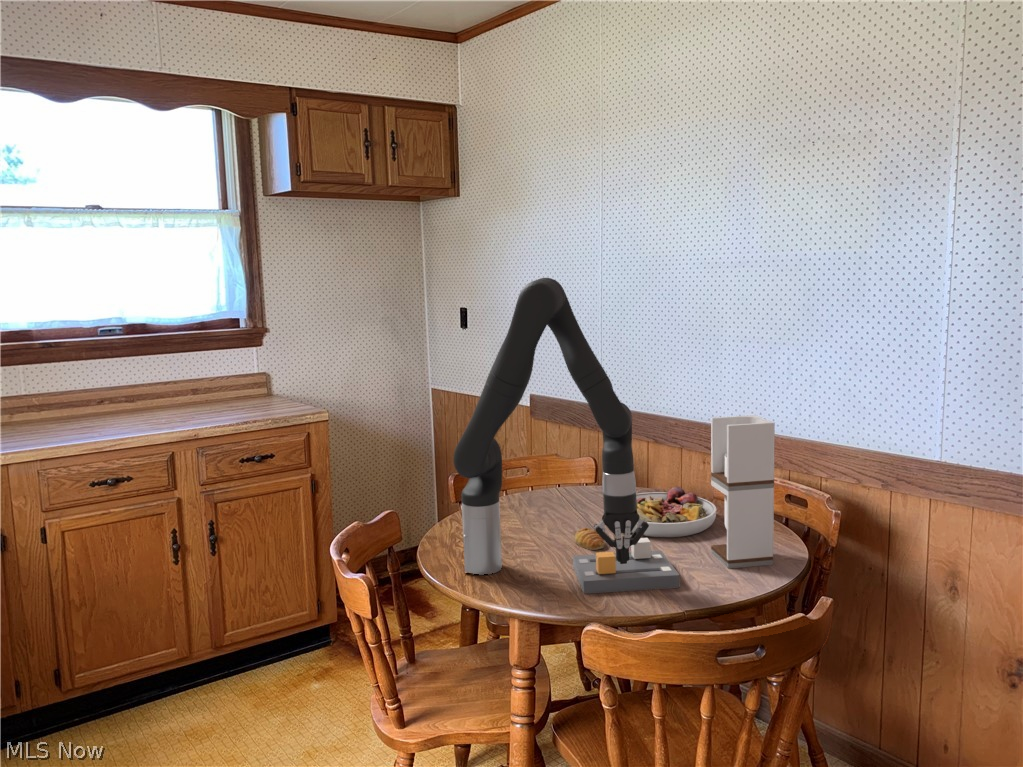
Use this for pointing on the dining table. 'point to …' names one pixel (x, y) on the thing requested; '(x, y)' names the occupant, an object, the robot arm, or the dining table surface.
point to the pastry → (589, 539)
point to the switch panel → (626, 574)
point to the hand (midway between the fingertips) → (623, 562)
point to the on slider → (641, 549)
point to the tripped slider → (605, 563)
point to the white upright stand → (744, 488)
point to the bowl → (674, 513)
